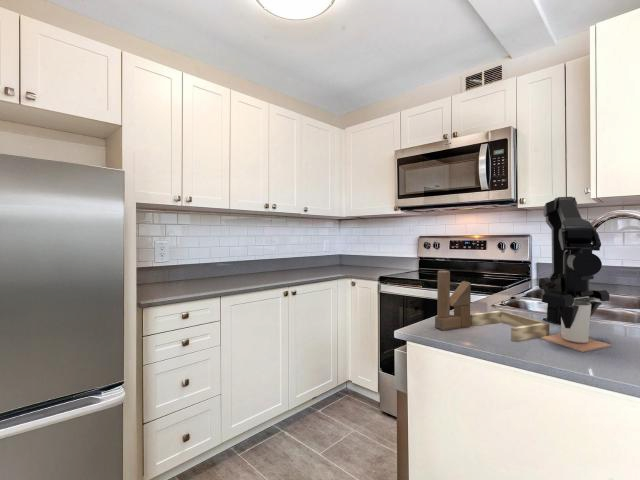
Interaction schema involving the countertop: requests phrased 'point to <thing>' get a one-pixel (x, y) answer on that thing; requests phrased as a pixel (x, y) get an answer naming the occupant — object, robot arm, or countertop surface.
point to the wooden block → (452, 303)
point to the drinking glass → (578, 324)
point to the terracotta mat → (576, 343)
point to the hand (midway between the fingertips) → (574, 327)
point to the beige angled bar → (513, 324)
